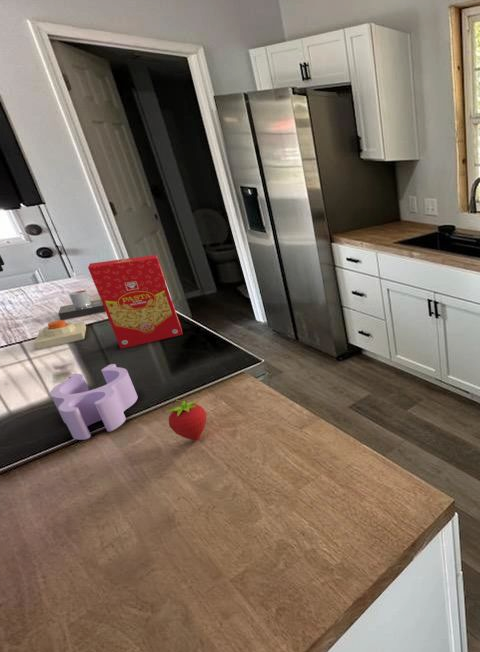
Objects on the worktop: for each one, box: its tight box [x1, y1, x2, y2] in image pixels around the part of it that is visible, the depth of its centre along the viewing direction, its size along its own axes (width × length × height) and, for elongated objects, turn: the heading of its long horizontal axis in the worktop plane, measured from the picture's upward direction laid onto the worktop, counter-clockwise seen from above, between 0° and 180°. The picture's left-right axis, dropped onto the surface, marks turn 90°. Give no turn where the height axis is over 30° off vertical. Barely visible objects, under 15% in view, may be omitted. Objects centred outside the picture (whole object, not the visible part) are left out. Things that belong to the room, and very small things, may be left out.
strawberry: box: [164, 399, 207, 442], centre depth 81 cm, size 6×8×10 cm
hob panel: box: [57, 299, 106, 321], centre depth 148 cm, size 12×9×3 cm
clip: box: [49, 363, 138, 441], centre depth 91 cm, size 20×12×7 cm, turn 41°
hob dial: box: [68, 289, 91, 308], centre depth 147 cm, size 4×4×5 cm
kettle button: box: [47, 319, 66, 329], centre depth 127 cm, size 4×4×2 cm
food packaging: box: [87, 254, 183, 349], centre depth 123 cm, size 15×5×25 cm, turn 129°
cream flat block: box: [34, 321, 87, 350], centre depth 128 cm, size 12×10×4 cm
